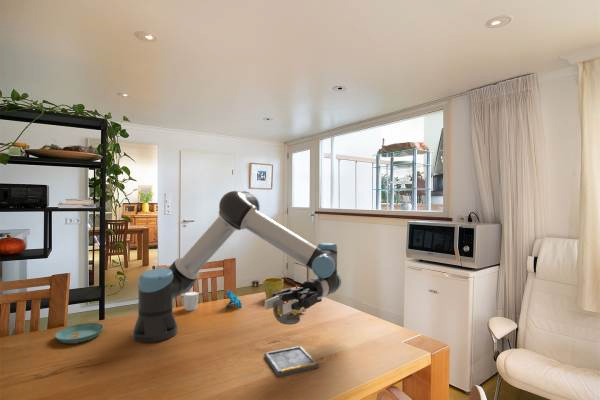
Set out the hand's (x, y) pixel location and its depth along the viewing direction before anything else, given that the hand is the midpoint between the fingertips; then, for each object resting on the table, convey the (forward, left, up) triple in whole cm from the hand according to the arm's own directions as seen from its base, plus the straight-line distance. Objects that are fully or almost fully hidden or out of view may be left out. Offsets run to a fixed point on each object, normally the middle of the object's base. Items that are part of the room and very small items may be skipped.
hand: (274, 307), depth 97 cm
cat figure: (+28, +50, -19) cm, 60 cm away
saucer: (-57, +49, -19) cm, 78 cm away
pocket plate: (+6, +2, -19) cm, 20 cm away
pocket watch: (+5, +2, -6) cm, 8 cm away
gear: (+2, +61, -19) cm, 64 cm away
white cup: (-17, +66, -19) cm, 71 cm away
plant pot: (+23, +66, -19) cm, 72 cm away
